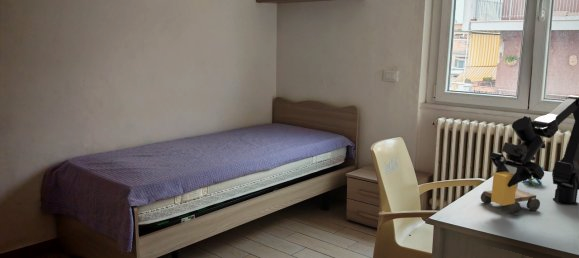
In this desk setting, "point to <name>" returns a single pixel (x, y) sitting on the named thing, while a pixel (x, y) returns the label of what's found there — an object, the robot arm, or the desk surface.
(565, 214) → the desk surface
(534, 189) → the desk surface
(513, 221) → the desk surface
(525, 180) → the blue angled frame
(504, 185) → the yellow upright rectangular block
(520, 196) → the dolly
